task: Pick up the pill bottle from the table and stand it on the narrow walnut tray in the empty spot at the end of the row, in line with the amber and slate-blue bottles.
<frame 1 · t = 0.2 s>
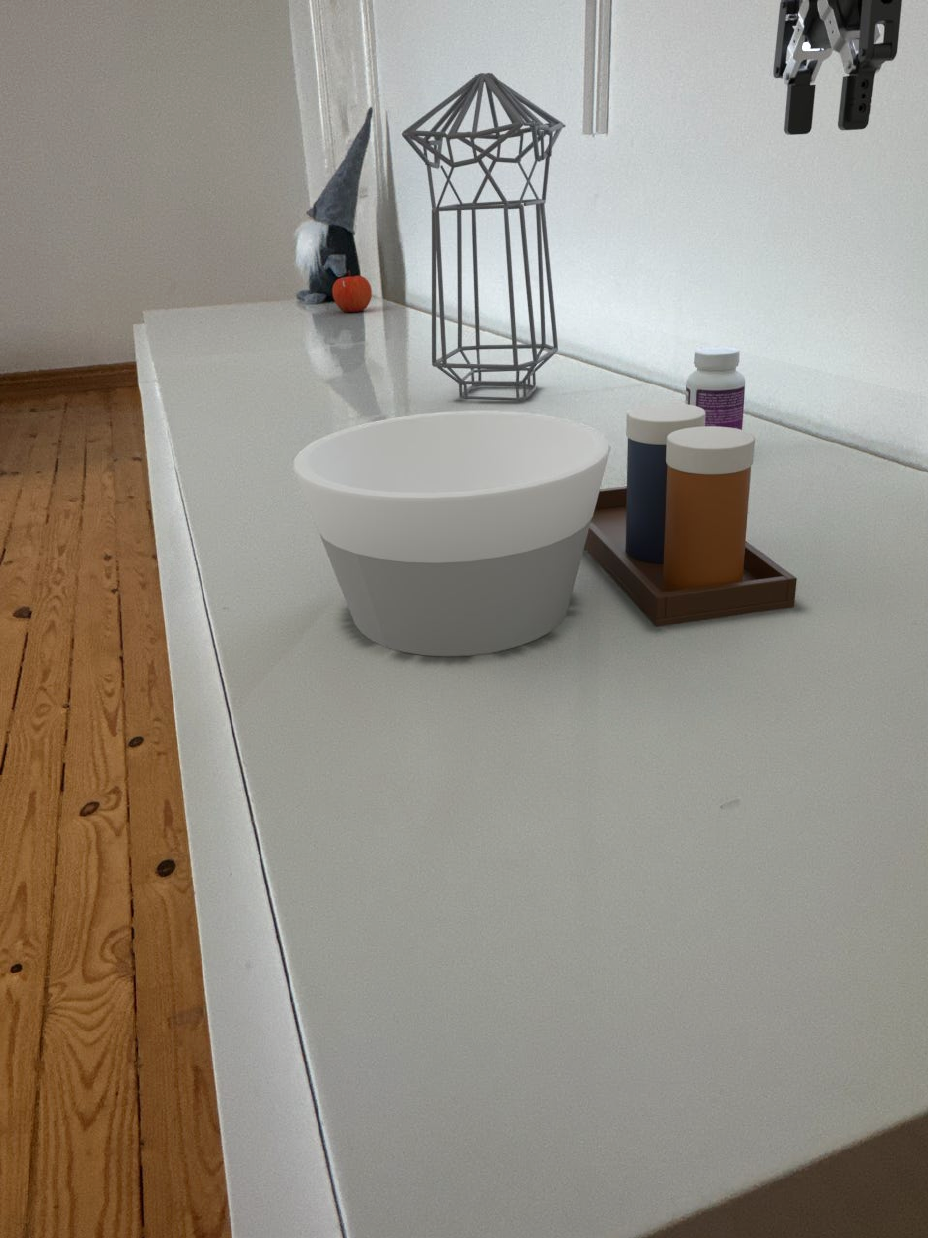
hand: (823, 132, 79), 27 cm above the sideboard, tool pointing down, fingers open, 8 cm apart
amber bottle: (702, 587, 63), resting on tray
slate bottle: (660, 550, 69), resting on tray
bowl: (461, 610, 63), on the sideboard
geometric lantern: (496, 395, 120), on the sideboard
tray: (660, 556, 69), on the sideboard
pill bottle: (711, 455, 92), on the sideboard
apple: (354, 312, 197), on the sideboard
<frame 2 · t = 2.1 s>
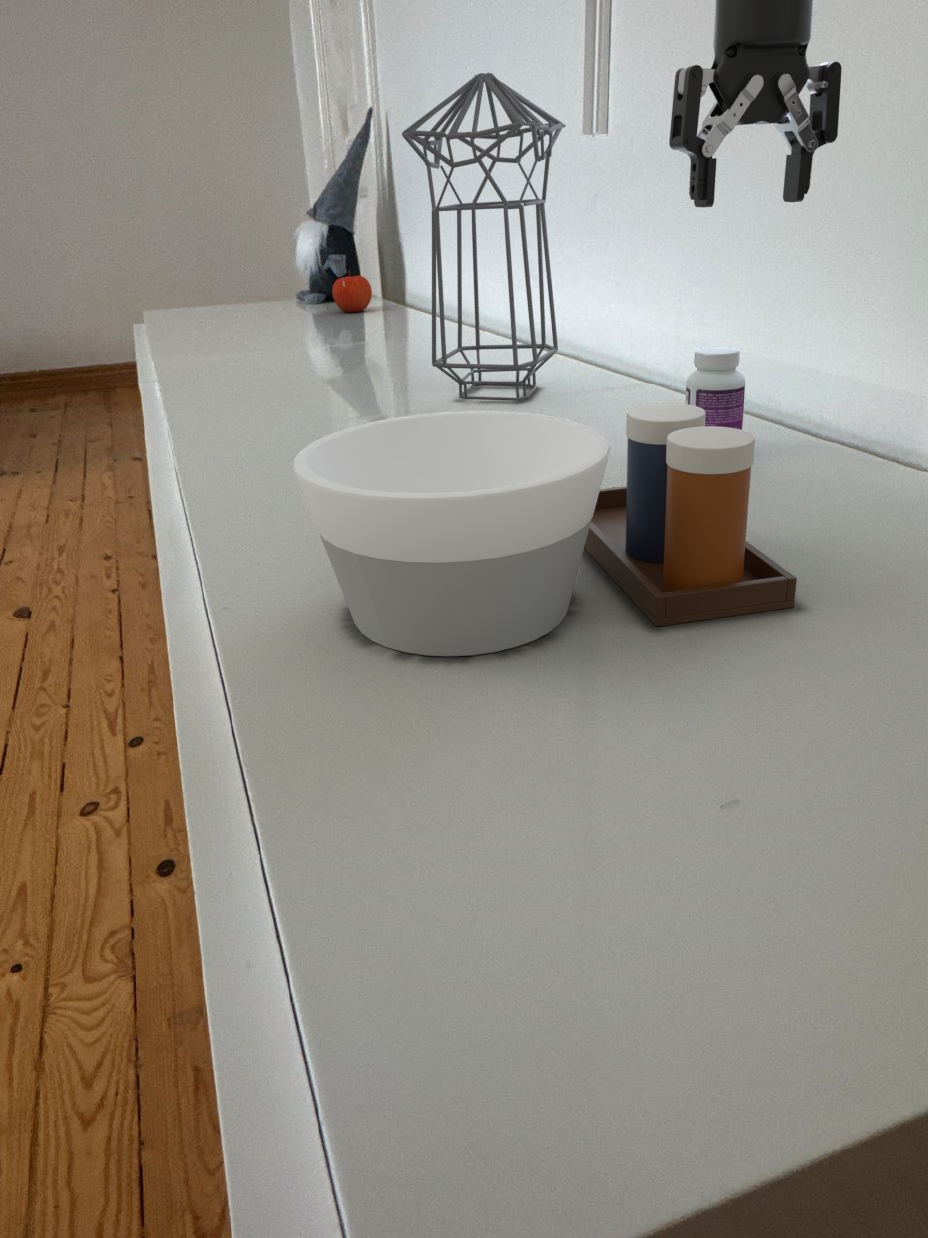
hand: (749, 204, 82), 22 cm above the sideboard, tool pointing down, fingers open, 8 cm apart
nothing on the sideboard moved.
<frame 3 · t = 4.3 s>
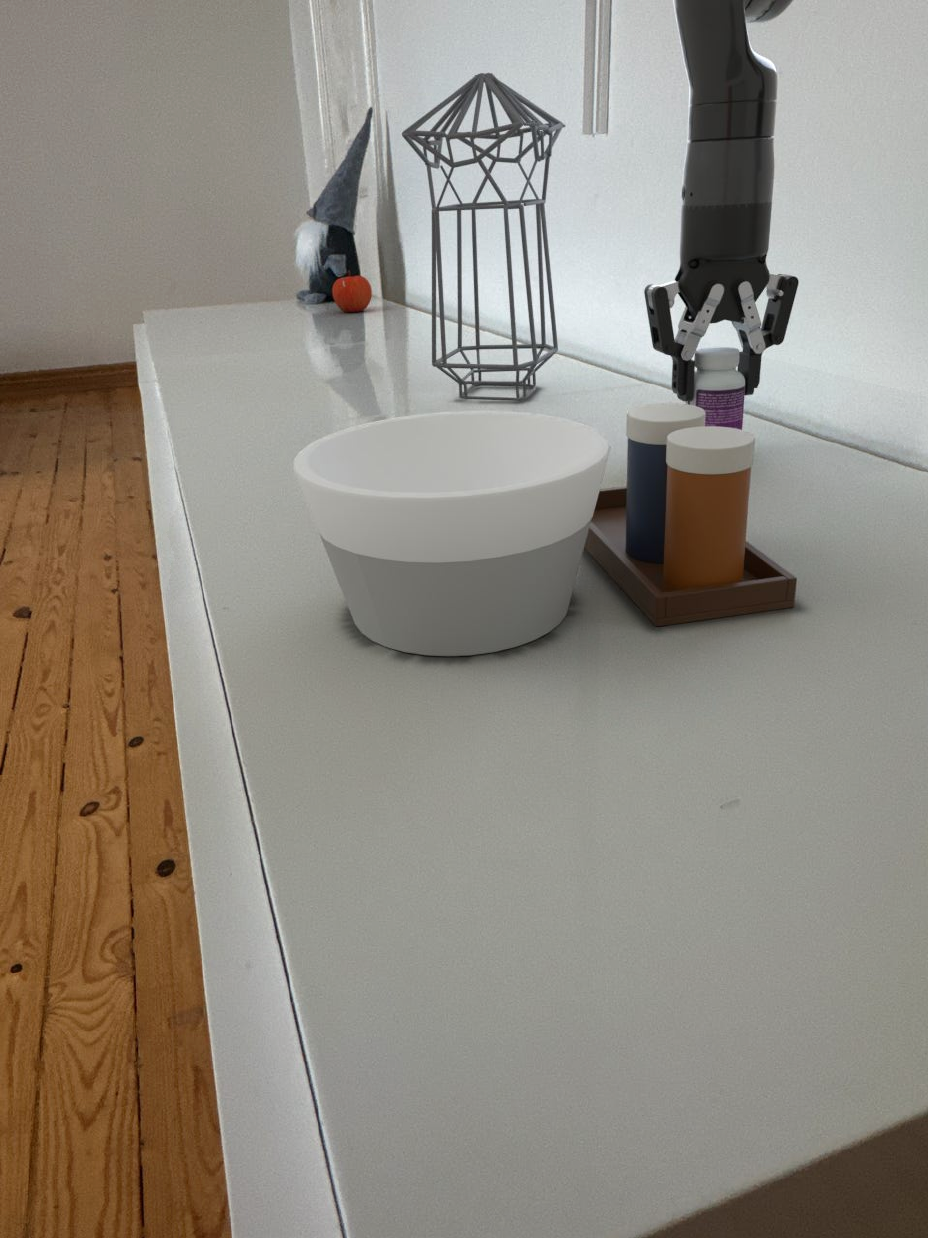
hand: (715, 395, 90), 5 cm above the sideboard, tool pointing down, fingers closed on pill bottle, 5 cm apart
pill bottle: (711, 455, 92), on the sideboard, touching gripper
everything else where it was.
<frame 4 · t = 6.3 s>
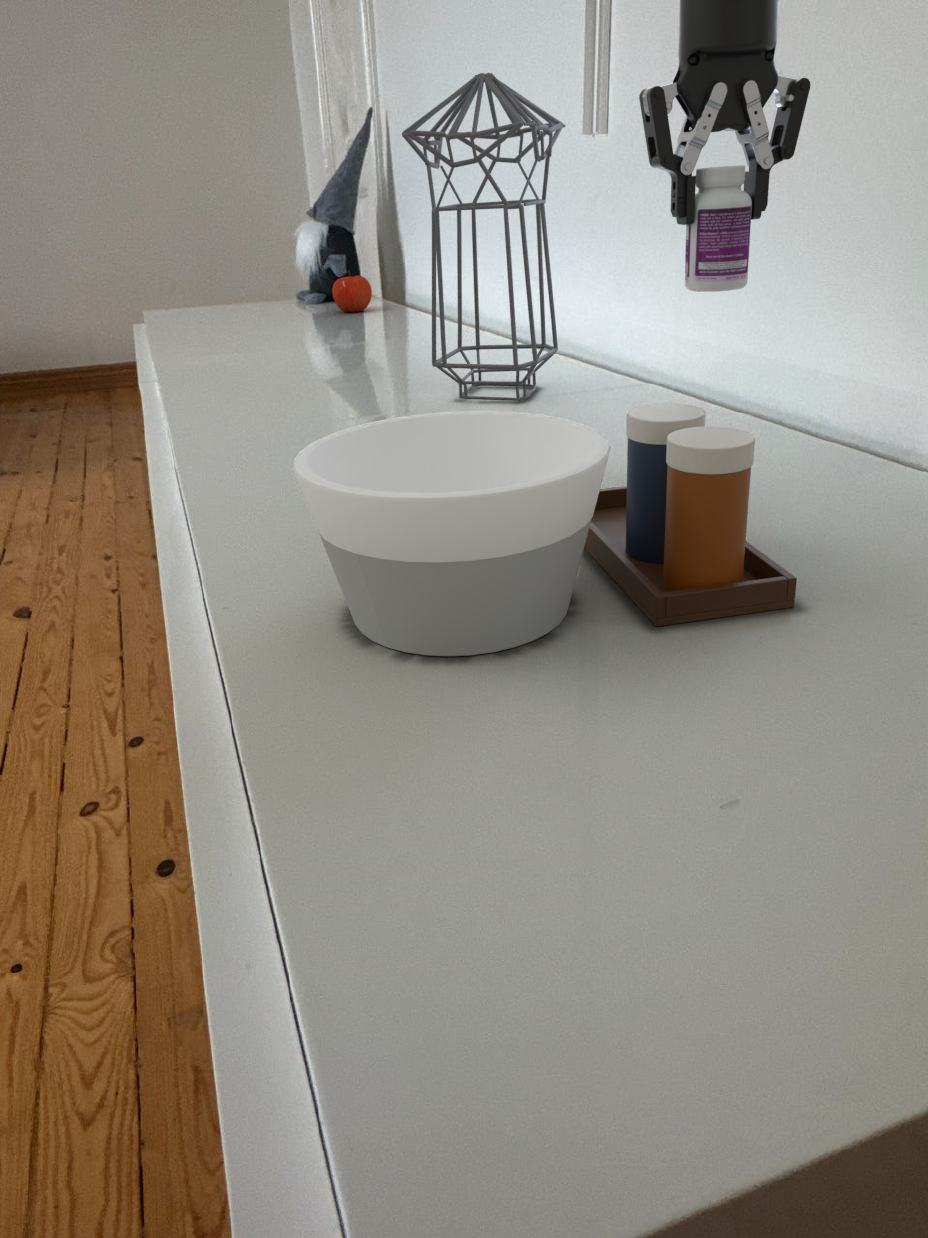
hand: (718, 220, 82), 21 cm above the sideboard, tool pointing down, fingers closed on pill bottle, 5 cm apart
pill bottle: (715, 290, 84), point 15 cm above the sideboard, touching gripper
everything else where it was.
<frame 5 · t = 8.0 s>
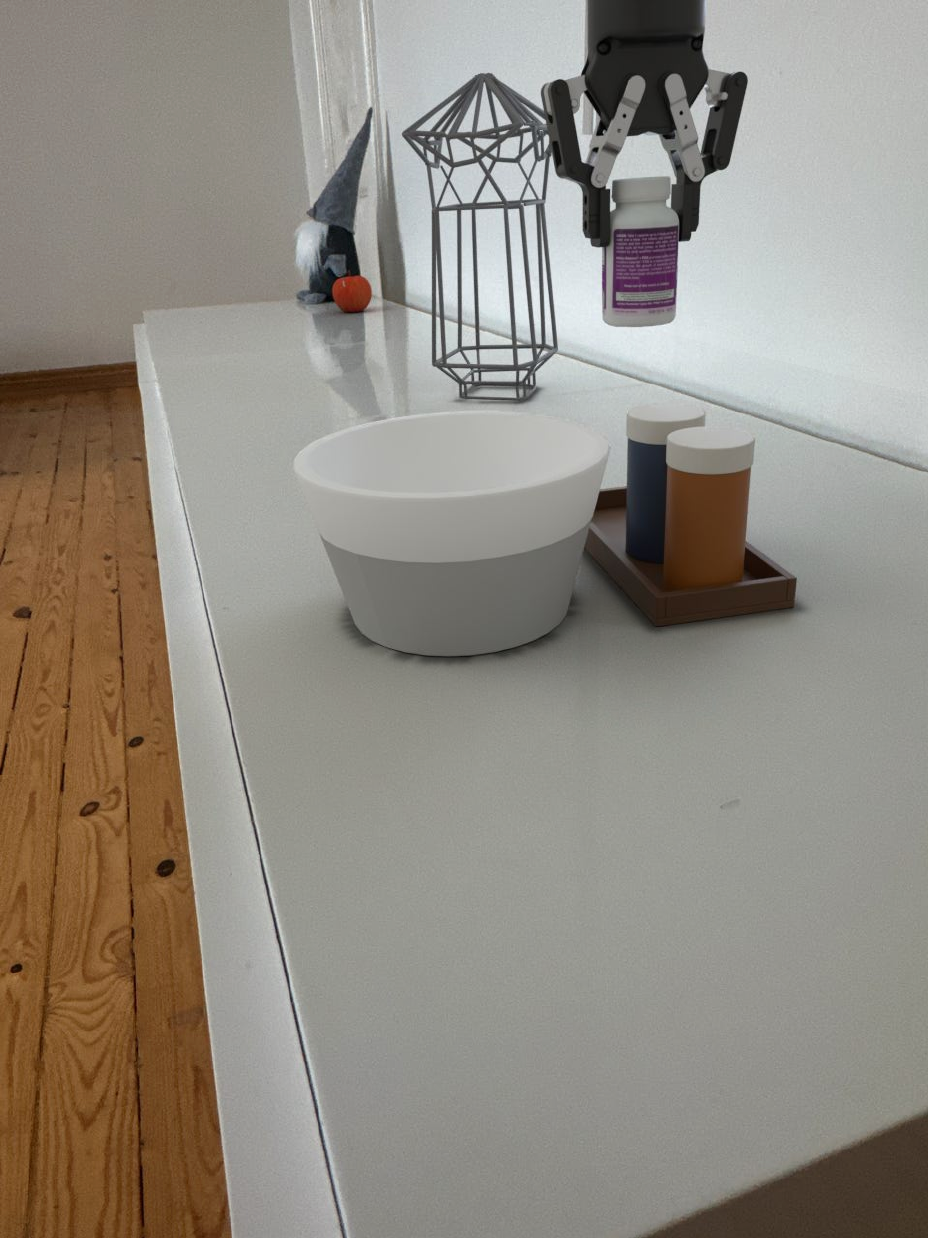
hand: (640, 242, 68), 21 cm above the sideboard, tool pointing down, fingers closed on pill bottle, 5 cm apart
pill bottle: (638, 325, 70), point 15 cm above the sideboard, touching gripper
everything else where it was.
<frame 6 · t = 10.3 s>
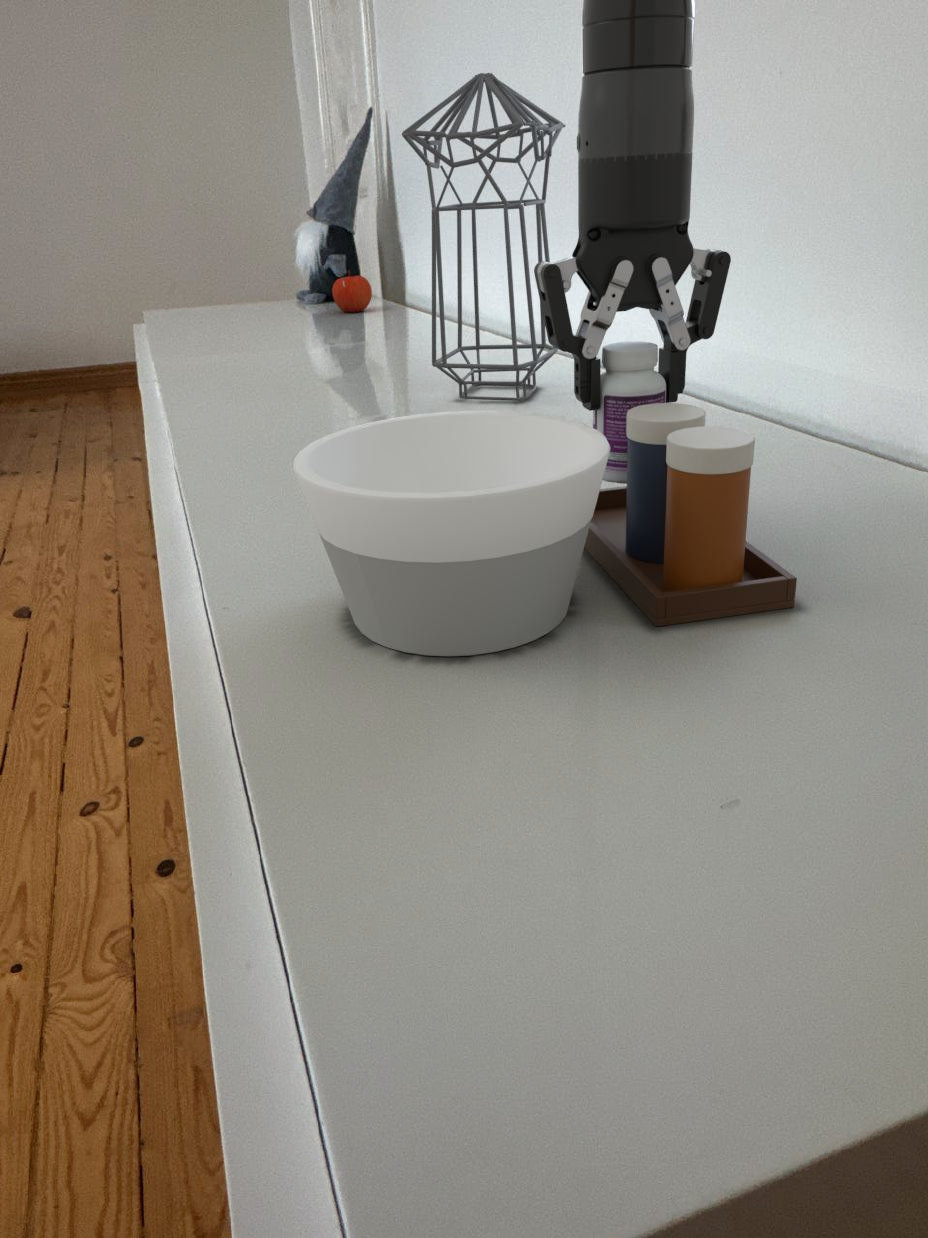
hand: (629, 403, 71), 10 cm above the sideboard, tool pointing down, fingers closed on pill bottle, 5 cm apart
pill bottle: (628, 477, 74), point 4 cm above the sideboard, touching gripper
everything else where it was.
when the fingers open (6 cm above the sideboard, at t = 11.8 s): pill bottle stays where it is, resting on tray.
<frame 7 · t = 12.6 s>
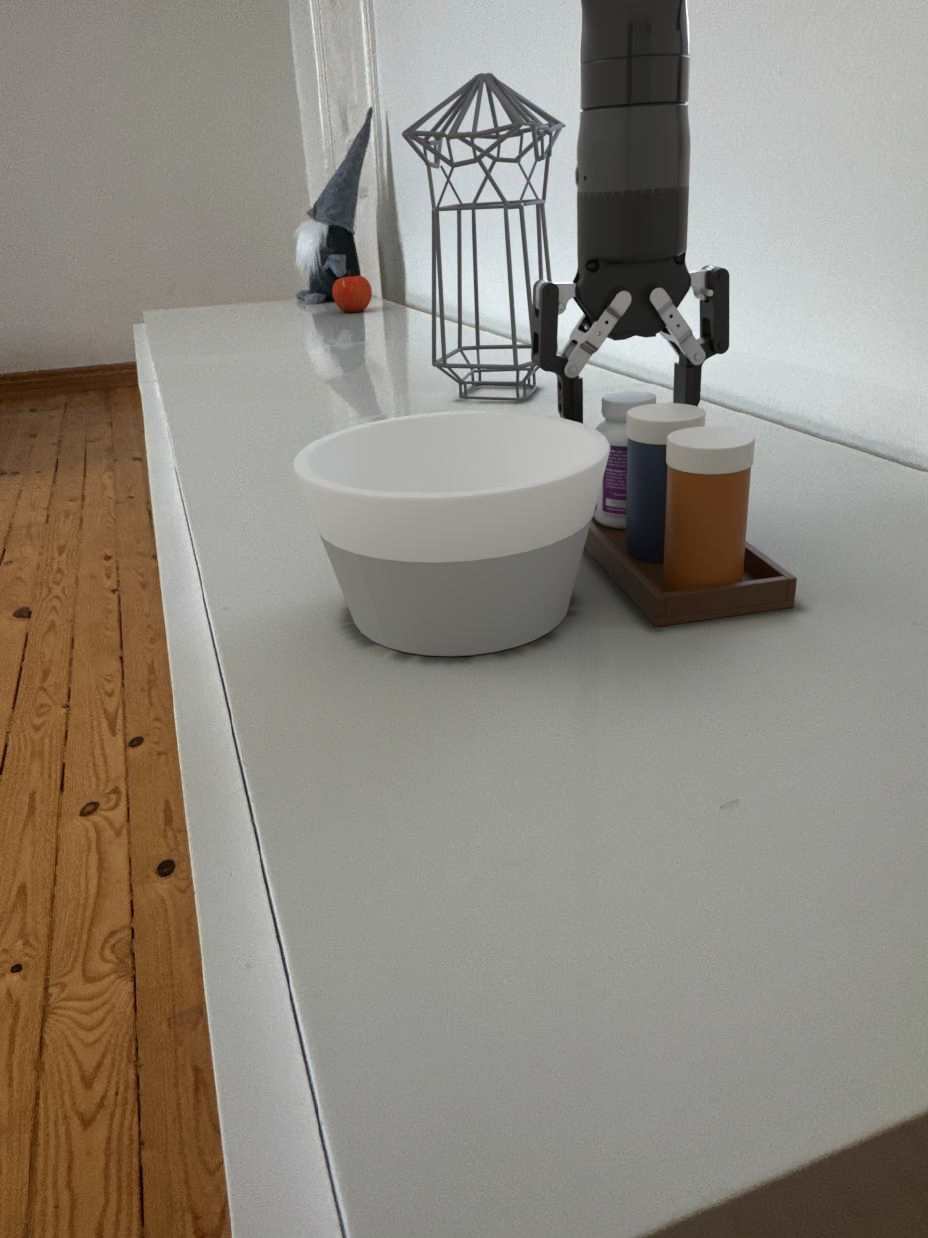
hand: (629, 420, 72), 8 cm above the sideboard, tool pointing down, fingers open, 8 cm apart
pill bottle: (627, 521, 75), resting on tray
everything else where it was.
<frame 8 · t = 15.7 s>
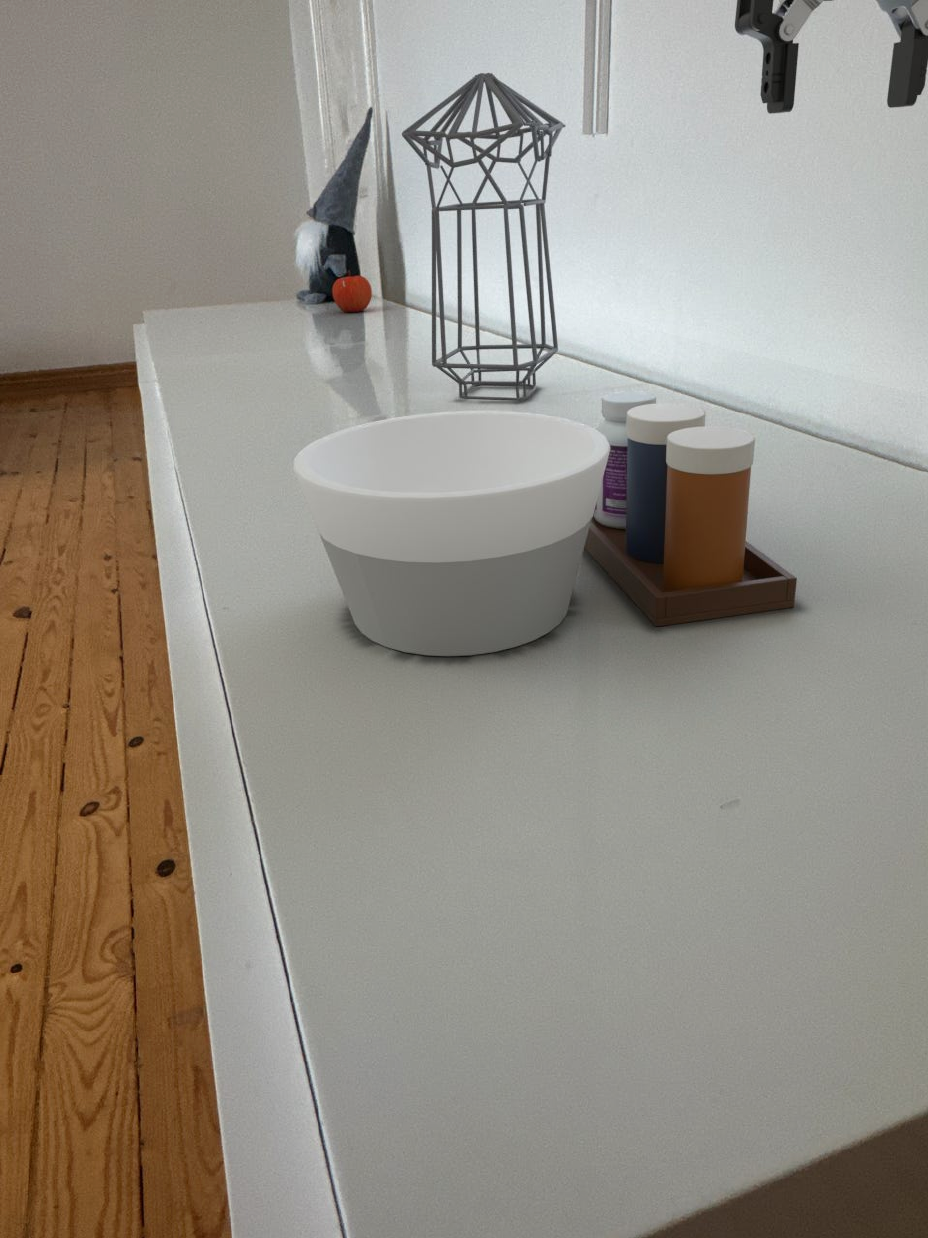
hand: (841, 109, 62), 28 cm above the sideboard, tool pointing down, fingers open, 8 cm apart
nothing on the sideboard moved.
at the end: pill bottle 0.1 cm from the target spot in the tray, point 0.3 cm above the tray's base; pill bottle tilted 0°; slate bottle moved 0.0 cm from its start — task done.
